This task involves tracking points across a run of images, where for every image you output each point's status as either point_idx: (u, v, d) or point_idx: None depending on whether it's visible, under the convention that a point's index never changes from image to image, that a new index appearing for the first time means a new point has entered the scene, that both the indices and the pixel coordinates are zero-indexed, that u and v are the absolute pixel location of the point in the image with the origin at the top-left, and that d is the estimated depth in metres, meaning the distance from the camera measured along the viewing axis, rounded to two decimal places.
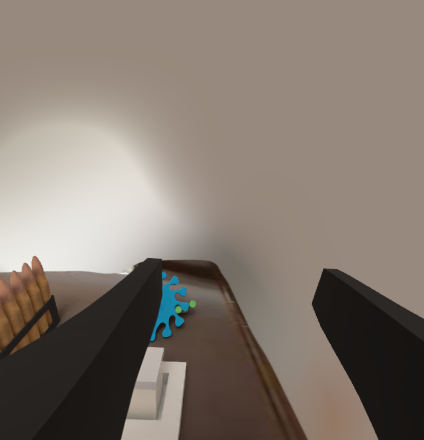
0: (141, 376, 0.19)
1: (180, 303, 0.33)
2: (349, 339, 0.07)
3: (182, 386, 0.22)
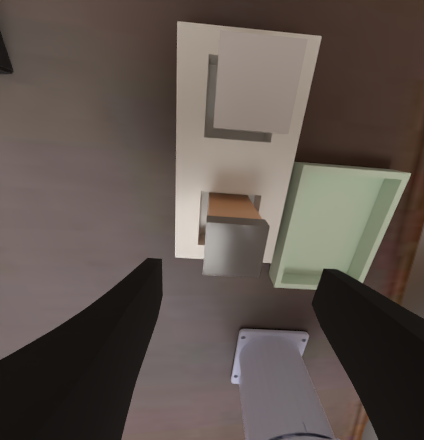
0: (258, 120, 0.09)
1: None
2: (349, 339, 0.07)
3: (307, 91, 0.12)
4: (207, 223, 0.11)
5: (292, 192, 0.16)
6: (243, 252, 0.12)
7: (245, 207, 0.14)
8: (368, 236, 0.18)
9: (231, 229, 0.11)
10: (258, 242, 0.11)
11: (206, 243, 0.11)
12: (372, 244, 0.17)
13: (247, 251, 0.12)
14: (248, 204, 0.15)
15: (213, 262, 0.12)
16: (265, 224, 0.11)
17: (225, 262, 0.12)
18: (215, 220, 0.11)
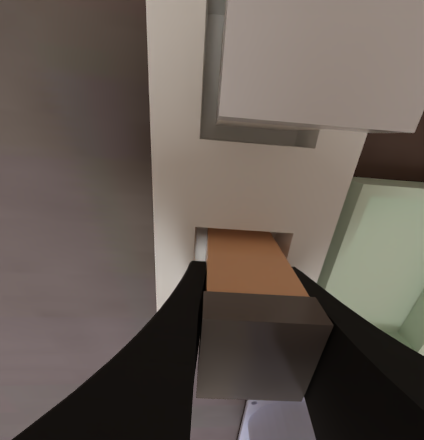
0: (341, 97, 0.03)
1: None
2: None
3: None
4: (204, 320, 0.05)
5: None
6: (275, 366, 0.06)
7: (268, 256, 0.08)
8: None
9: (254, 331, 0.05)
10: (306, 350, 0.06)
11: (202, 352, 0.06)
12: None
13: (284, 365, 0.06)
14: (273, 249, 0.09)
15: (216, 380, 0.06)
16: (323, 318, 0.06)
17: (239, 380, 0.06)
18: (220, 308, 0.06)
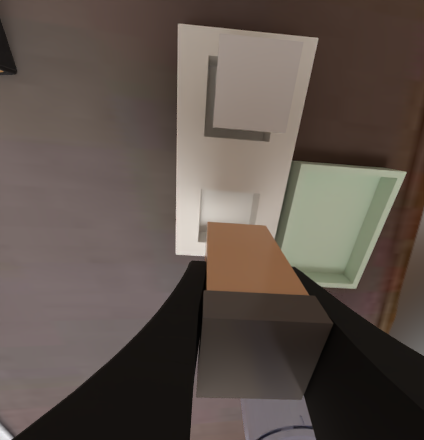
0: (256, 120, 0.09)
1: None
2: None
3: (304, 92, 0.13)
4: (204, 319, 0.05)
5: (290, 190, 0.17)
6: (275, 364, 0.06)
7: (267, 255, 0.08)
8: (365, 234, 0.18)
9: (254, 329, 0.05)
10: (306, 349, 0.06)
11: (202, 351, 0.06)
12: (369, 241, 0.18)
13: (284, 363, 0.06)
14: (273, 248, 0.09)
15: (216, 379, 0.06)
16: (322, 316, 0.06)
17: (239, 379, 0.06)
18: (221, 307, 0.06)
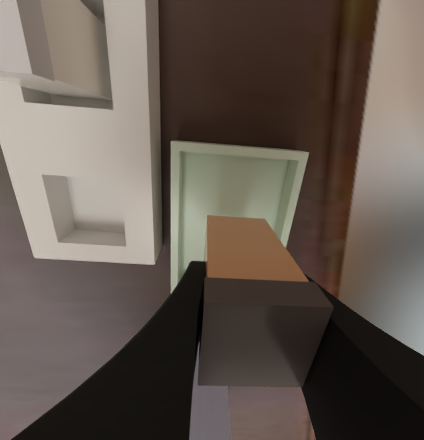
0: None
1: None
2: None
3: (144, 38, 0.09)
4: (206, 304, 0.05)
5: None
6: (276, 350, 0.06)
7: (267, 246, 0.08)
8: (277, 232, 0.15)
9: (255, 314, 0.05)
10: (307, 334, 0.06)
11: (204, 338, 0.06)
12: None
13: (285, 349, 0.06)
14: (272, 239, 0.09)
15: (218, 367, 0.06)
16: (323, 300, 0.06)
17: (241, 366, 0.06)
18: (222, 293, 0.06)
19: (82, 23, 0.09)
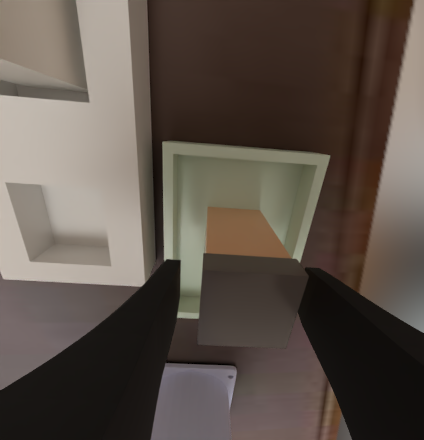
0: None
1: None
2: (327, 337, 0.07)
3: (125, 10, 0.07)
4: (204, 271, 0.06)
5: None
6: (262, 314, 0.07)
7: (259, 231, 0.10)
8: (288, 248, 0.13)
9: (244, 281, 0.07)
10: (288, 299, 0.07)
11: (202, 301, 0.07)
12: None
13: (270, 312, 0.07)
14: (265, 227, 0.10)
15: (214, 328, 0.07)
16: (300, 271, 0.07)
17: (233, 328, 0.07)
18: (217, 264, 0.07)
19: None
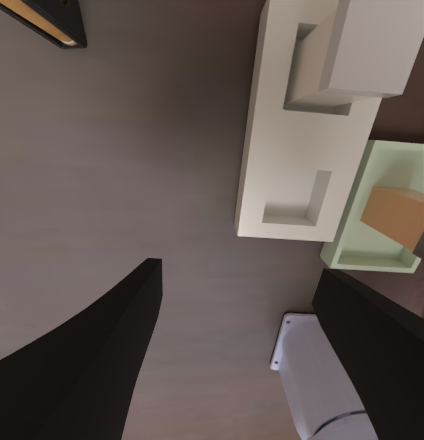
0: (374, 80, 0.09)
1: None
2: (349, 338, 0.07)
3: None
4: None
5: (357, 170, 0.16)
6: None
7: None
8: None
9: None
10: None
11: None
12: None
13: None
14: None
15: None
16: None
17: None
18: None
19: None
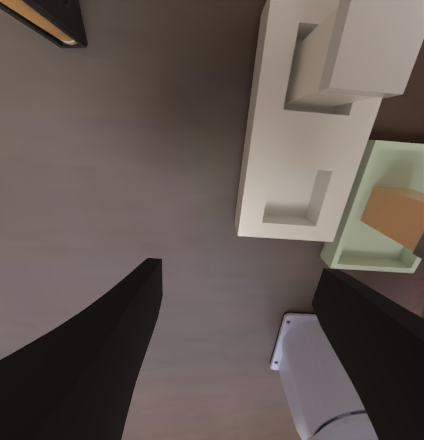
0: (375, 80, 0.09)
1: None
2: (349, 339, 0.07)
3: None
4: None
5: None
6: None
7: None
8: None
9: None
10: None
11: None
12: None
13: None
14: None
15: None
16: None
17: None
18: None
19: None
